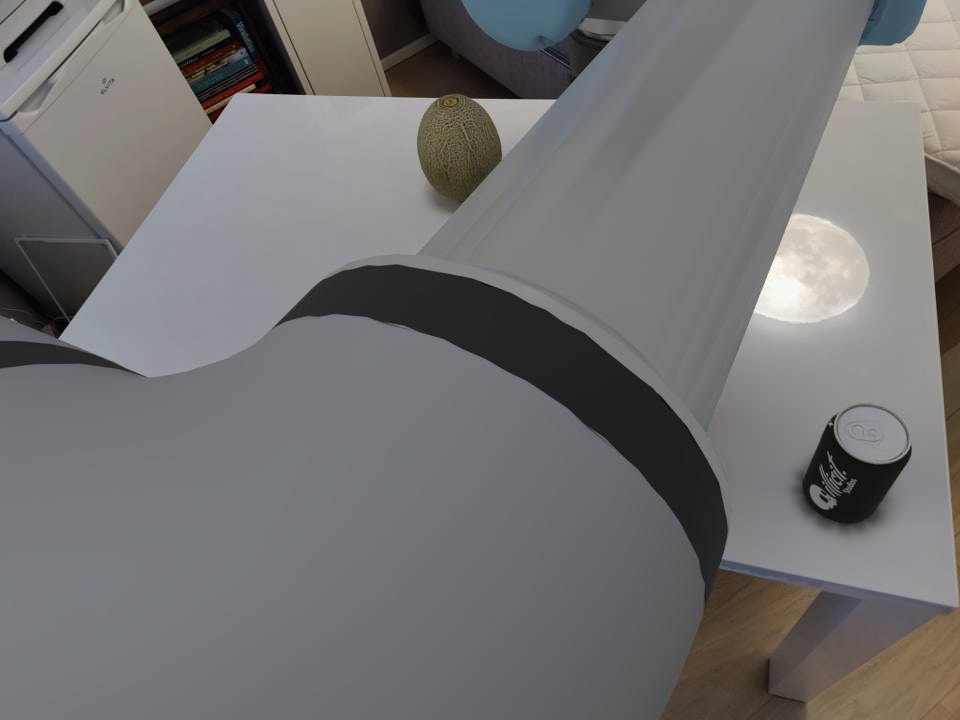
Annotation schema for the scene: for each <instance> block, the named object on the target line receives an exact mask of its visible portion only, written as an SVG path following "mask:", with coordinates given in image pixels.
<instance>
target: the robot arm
mask: <svg viewBox="0 0 960 720" xmlns="http://www.w3.org/2000/svg"><path fill="white" fill-rule="evenodd" d="M927 2H928V0H461V3H462V5H463V6H464V9H465V10H466V11H467V13H468V15H469V16H470V18H471V19H472V20H473V21H474V23H475V24H476V25H477V26H478V27H479V28H480V29H481V30H482V31H483V32H484V33H485V34H486V35H487V36H488V37H490V38H492V39H493V40H494V41H496V42H497V43H498V44H501V45H503V46H505V47H508V48H511V49H512V50H513V49H514V50H518V51H525V52H539V51H540V50H545V49H546V48H549V47H553V46H555V45H556V44H558V43H560V42H562V41H563V40H564V39H566V38H567V37H568V38H567V39H568V40H567V41H568V53H569V54H568V55H569V65H570V66H569V67H570V69H571V71H569V72H567V73H566V80H567V84H568V87H567V88H566V89H565V90H564V91H563V92H562V93H561V95H560V96H559V97H558V98H557V99H556V100H555V101H554V102H553V103H552V104H551V106H550V107H549V108H547V110H546V111H545V112H544V114H542V116H541V117H540V118H539V119H538V120H537V121H536V122H535V123H534V124H533V125H532V126H531V127H530V128H529V129H528V131H527V132H526V133H525V134H524V135H523V137H522V138H521V139H520V140H519V141H518V142H517V143H516V144H515V145H514V146H513V148H511V149H510V151H508V152H507V154H506V155H505V156H504V157H503V158H502V161H501V162H500V163H499V164H498V165H497V166H496V167H495V168H494V170H493V171H492V172H491V173H490V174H489V175H488V176H487V177H486V178H485V179H484V181H483V182H482V183H481V184H480V185H479V186H478V187H477V188H476V189H475V190H474V192H473V193H472V194H471V195H470V196H469V197H468V198H467V199H466V200H465V201H463V202H462V204H460V206H459V207H458V208H457V209H456V210H455V211H454V213H453V214H452V215H451V216H450V217H449V218H448V219H447V220H446V221H445V222H444V223H443V224H442V225H441V226H440V228H439V229H438V230H437V231H436V232H435V233H434V234H433V235H432V237H431V238H429V240H428V241H427V242H426V243H425V244H424V245H423V247H422V248H421V249H420V250H419V251H418V252H417V253H416V254H404V253H403V254H402V253H401V254H400V253H395V254H394V253H393V254H386V255H384V254H383V255H375V256H368V257H364V258H361V259H357V260H354V261H349V262H347V263H345V264H343V265H342V266H339V267H337V268H336V269H334V270H333V271H330V272H329V273H327V274H326V276H324V277H323V278H322V279H321V280H320V281H318V283H316V284H315V285H314V286H312V288H311V289H310V290H309V291H308V292H307V293H306V294H305V295H303V296H302V297H301V299H300V300H299V301H298V302H297V303H296V304H295V305H294V306H293V307H292V308H291V309H290V310H289V311H288V312H286V313H285V315H284V316H283V317H281V318H280V320H278V322H277V323H276V324H275V325H273V327H272V328H271V329H270V330H269V331H267V332H266V333H265V334H264V335H263V336H262V337H261V338H260V339H259V340H256V342H255V343H253V344H252V345H250V346H248V347H245V348H244V349H242V350H240V351H238V352H237V353H235V354H232V355H230V356H228V357H227V358H224V359H221V360H218V361H214V362H212V363H208V364H205V365H203V366H199V367H195V368H193V369H190V370H187V371H183V372H182V371H181V372H178V373H172V374H166V375H159V376H151V377H148V376H146V375H143V374H141V373H139V372H136V371H134V370H131V369H129V368H126V367H125V366H123V365H121V364H119V363H118V362H115V361H113V360H111V359H109V358H106V357H103V356H101V355H99V354H96V353H93V352H91V351H88V350H86V349H83V348H81V347H79V346H76V345H74V344H71V343H69V342H67V341H64V340H62V339H59V338H56V337H54V336H52V335H50V334H48V333H44V332H43V331H39V330H37V329H34V328H32V327H30V326H27V325H25V324H22V323H20V322H17V321H15V320H12V319H10V318H8V317H5V316H3V315H0V720H660V717H661V716H662V713H663V712H664V710H665V708H666V706H667V704H668V703H669V700H670V698H671V696H672V694H673V693H674V690H675V688H676V686H677V684H678V682H679V679H680V676H681V674H682V671H683V669H684V666H685V663H686V661H687V658H688V656H689V653H690V651H691V648H692V646H693V643H694V640H695V638H696V635H697V634H698V633H697V632H698V630H699V628H700V625H701V623H702V620H703V618H704V615H705V612H706V609H707V606H708V602H709V599H710V598H711V597H710V596H711V593H712V590H713V587H714V584H715V581H716V578H717V575H718V572H719V570H720V566H721V563H722V560H723V557H724V554H725V551H726V546H727V544H728V540H729V535H730V533H731V523H732V514H733V513H732V510H733V508H732V507H733V506H732V501H731V493H730V488H729V481H728V479H727V476H726V474H725V470H724V468H723V466H722V462H721V460H720V457H719V455H718V453H717V452H716V449H715V448H714V446H713V444H712V442H711V441H710V438H709V436H708V435H707V431H708V429H709V426H710V424H711V421H712V419H713V416H714V413H715V411H716V409H717V406H718V403H719V401H720V398H721V395H722V393H723V390H724V388H725V385H726V383H727V380H728V378H729V375H730V374H731V373H730V372H731V370H732V367H733V365H734V363H735V360H736V357H737V354H738V352H739V350H740V347H741V345H742V343H743V340H744V336H745V334H746V332H747V329H748V326H749V324H750V323H751V319H752V317H753V314H754V312H755V309H756V307H757V304H758V301H759V299H760V296H761V294H762V291H763V288H764V286H765V284H766V281H767V278H768V276H769V273H770V270H771V268H772V266H773V263H774V261H775V258H776V255H777V253H778V250H779V248H780V245H781V242H782V240H783V237H784V235H785V233H786V230H787V227H788V225H789V223H790V220H791V218H792V215H793V211H794V209H795V206H796V204H797V201H798V199H799V197H800V194H801V191H802V188H803V186H804V184H805V181H806V179H807V176H808V174H809V172H810V169H811V166H812V163H813V161H814V158H815V156H816V153H817V151H818V148H819V146H820V143H821V141H822V137H823V136H824V133H825V131H826V128H827V125H828V123H829V120H830V119H831V115H832V112H833V110H834V107H835V105H836V103H837V99H838V97H839V94H840V92H841V90H842V88H843V84H844V82H845V80H846V78H847V74H848V72H849V70H850V66H851V64H852V61H853V59H854V56H855V53H856V51H857V49H858V47H861V46H876V47H880V46H881V47H888V46H891V47H892V46H893V45H897V44H899V45H900V44H902V43H904V42H905V41H906V40H907V39H908V38H909V37H910V36H912V35H913V34H914V33H915V31H916V29H917V28H918V26H919V24H920V22H921V18H922V16H923V13H924V11H925V7H926V5H927Z"/></svg>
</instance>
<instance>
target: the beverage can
mask: <svg viewBox="0 0 960 720" xmlns="http://www.w3.org/2000/svg"><path fill="white" fill-rule="evenodd" d="M912 442H913V436H912V431H911V428H910V426H909V425H908V422H907V421H906V420H905V419H904V417H903V416H901V415H900V414H899V413H898V412H897V411H895V410H894V409H892V408H891V407H888V406H886V405H884V404H881V403H876V402H871V401H861V402H860V401H859V402H855V403H852V404H849V405H847V406H845V407H843V408H842V409H841V410H840V411H838V412H836V413H835V414H834V415H833V416H832V417H831V418H830V419H829V420H828V421H827V423H826V425H825V428H824V429H823V432H822V434H821V436H820V439H819V441H818V443H817V445H816V448H815V450H814V452H813V454H812V457H811V459H810V461H809V463H808V466H807V468H806V470H805V472H804V475H803V476H802V477H803V478H802V481H801V482H802V483H801V488H802V493H803V496H804V499H806V502H807V503H808V505H809V507H810V508H811V509H813V511H815V512H816V513H817V514H819V516H821V517H823V518H825V519H827V520H829V521H831V522H835V523H838V524H855V523H860V522H863V521H865V520H867V519H868V518H870V517H871V516H872V515H873V514H874V513H875V512H876V510H877V509H878V507H879V505H881V503H882V501H883V500H884V498H885V497H886V495H887V494H888V492H889V491H890V489H891V488H892V486H893V485H894V484H895V482H896V481H897V479H898V478H899V476H900V475H901V473H902V472H903V470H904V469H905V467H906V466H907V465H908V463H909V461H910V460H911V457H912V453H913V445H912Z"/></svg>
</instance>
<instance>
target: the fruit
mask: <svg viewBox="0 0 960 720" xmlns="http://www.w3.org/2000/svg"><path fill="white" fill-rule="evenodd" d="M417 130H418V131H417V136H416V151H417V155H418V159H419V164H420V168H421V170H422V172H423V174H424V175H423V176H424V177H425V179H426V180H427V182H428V183H429V184H430V185H431V187H432V188H433V189H434V190H435V191H436V192H438V193H439V194H440V195H442V196H443V197H445V198H447V199H449V200H453V201H456V202H464V201H465V200H466V199H467V198H468V197H469V196H470V195H471V194H472V193H473V192H474V190H475V189H476V188H477V187H478V186H479V185H480V184H481V183H482V182H483V181H484V179H485V178H486V177H487V176H488V175H489V174H490V173H491V172H492V171H493V170H494V168H495V167H496V166H497V165H498V164H499V163H500V162H501V161H502V160H503V149H502V143H501V138H500V135H499V132H498V129H497V127H496V125H495V123H494V121H493V119H492V117H491V116H490V114H489V113H488V112H487V110H486V109H485V108H484V106H482V105H481V104H480V103H478V102H477V101H476V100H474V99H472V98H471V97H468V96H466V95H464V94H458V93H453V94H452V93H451V94H446V95H443V96H441V97H439V98H436V99H435V100H434V101H433V102H432V103H431V104H430V105H429V106H428V107H427V109H426V110H425V112H424V114H423V115H422V117H421V120H420V122H419V126H418V129H417Z"/></svg>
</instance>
